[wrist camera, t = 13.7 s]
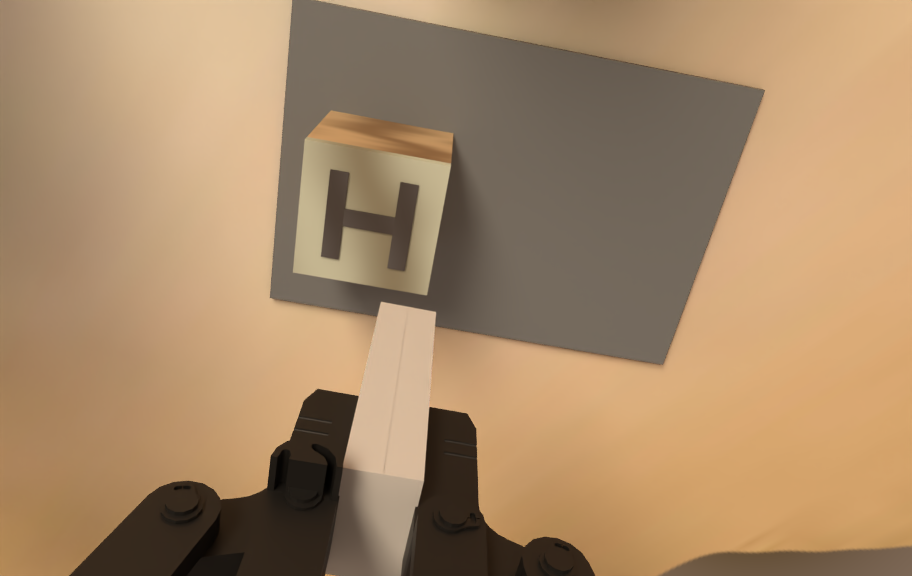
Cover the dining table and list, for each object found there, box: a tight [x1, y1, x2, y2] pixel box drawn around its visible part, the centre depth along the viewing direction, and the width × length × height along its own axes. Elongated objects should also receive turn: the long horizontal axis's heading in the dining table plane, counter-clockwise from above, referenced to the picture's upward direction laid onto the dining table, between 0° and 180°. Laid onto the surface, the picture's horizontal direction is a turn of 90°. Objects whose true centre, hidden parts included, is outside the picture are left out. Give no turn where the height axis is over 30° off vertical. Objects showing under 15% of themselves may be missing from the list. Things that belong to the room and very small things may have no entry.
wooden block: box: [293, 110, 453, 295], centre depth 37 cm, size 7×7×7 cm
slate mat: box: [270, 0, 765, 365], centre depth 41 cm, size 26×18×1 cm
